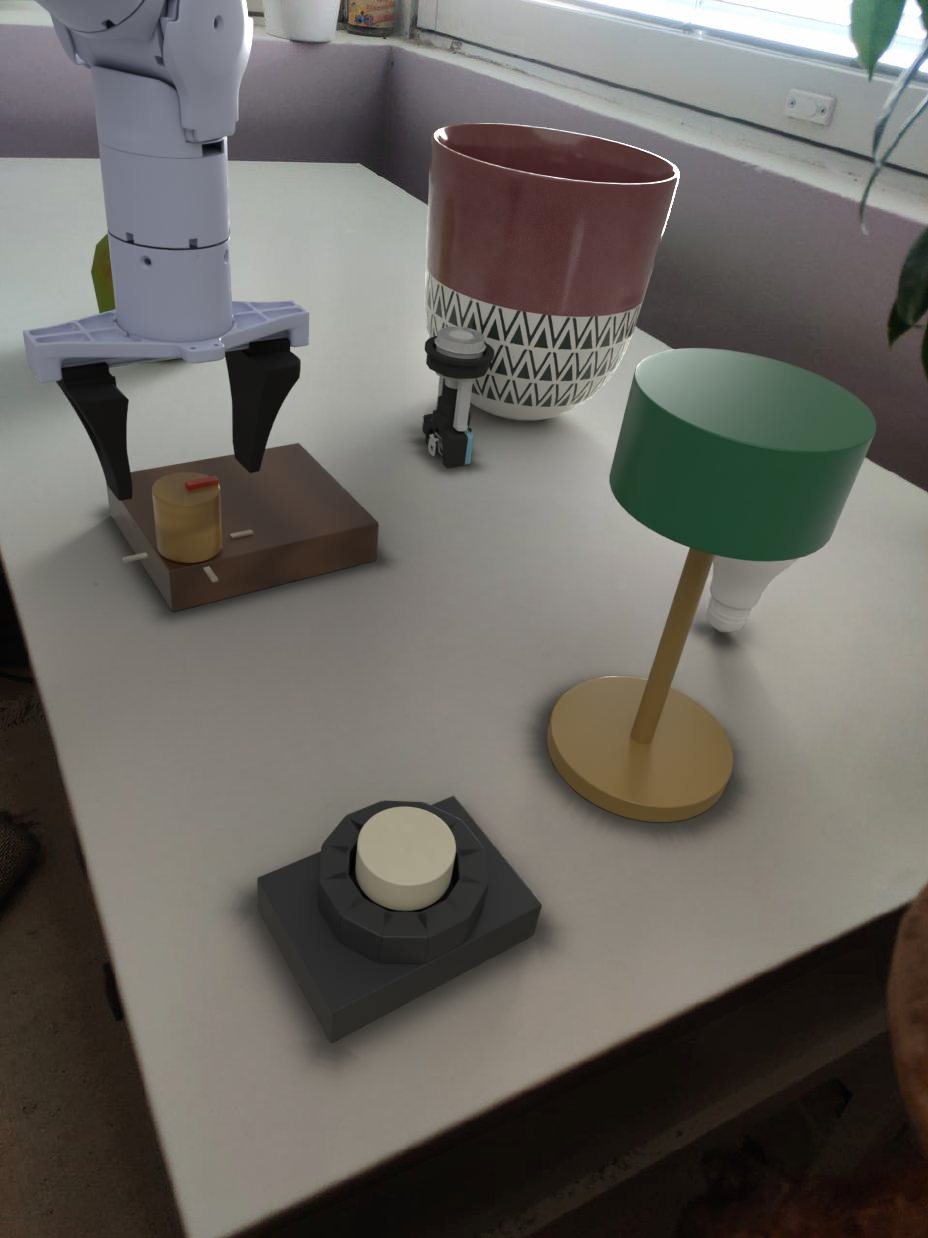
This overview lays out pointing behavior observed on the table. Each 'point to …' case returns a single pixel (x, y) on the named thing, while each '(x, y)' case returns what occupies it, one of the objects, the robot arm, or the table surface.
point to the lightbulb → (738, 589)
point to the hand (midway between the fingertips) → (185, 477)
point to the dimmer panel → (253, 527)
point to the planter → (541, 256)
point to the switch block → (390, 922)
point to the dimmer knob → (187, 517)
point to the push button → (454, 391)
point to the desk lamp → (705, 552)
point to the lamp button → (405, 858)
